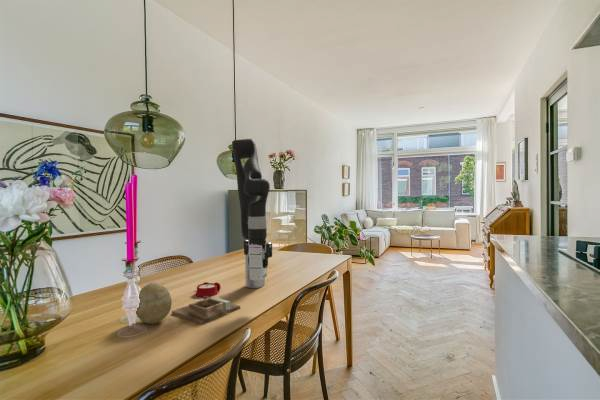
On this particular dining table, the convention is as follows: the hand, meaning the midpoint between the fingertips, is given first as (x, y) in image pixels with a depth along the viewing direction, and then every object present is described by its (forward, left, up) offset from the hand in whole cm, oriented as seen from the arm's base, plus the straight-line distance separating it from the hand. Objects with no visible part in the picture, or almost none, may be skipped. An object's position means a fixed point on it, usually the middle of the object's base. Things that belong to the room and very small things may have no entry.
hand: (258, 266), depth 139 cm
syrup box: (0, 0, -5) cm, 5 cm away
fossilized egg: (+33, -22, -18) cm, 44 cm away
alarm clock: (-3, -35, -18) cm, 39 cm away
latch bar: (+11, -11, -16) cm, 23 cm away
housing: (+14, -15, -18) cm, 27 cm away
